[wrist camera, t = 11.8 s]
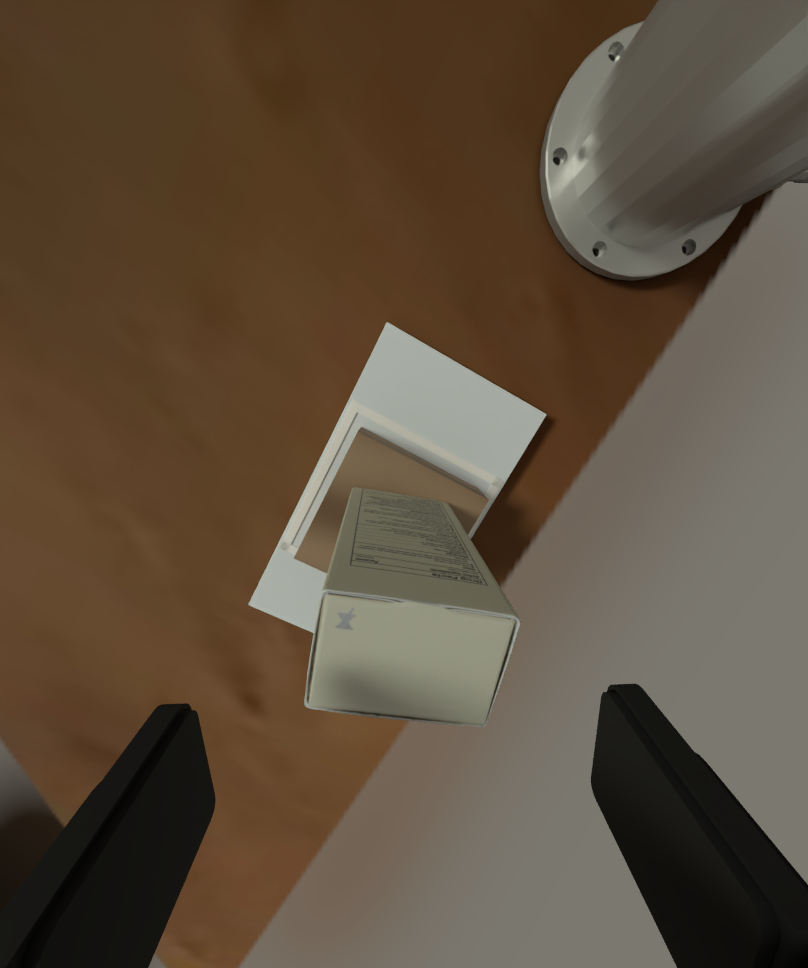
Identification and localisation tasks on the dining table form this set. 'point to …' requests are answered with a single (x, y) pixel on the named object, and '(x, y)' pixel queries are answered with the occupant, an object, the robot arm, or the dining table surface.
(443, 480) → the walnut plinth
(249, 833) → the dining table surface
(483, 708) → the skincare box
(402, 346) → the white board
